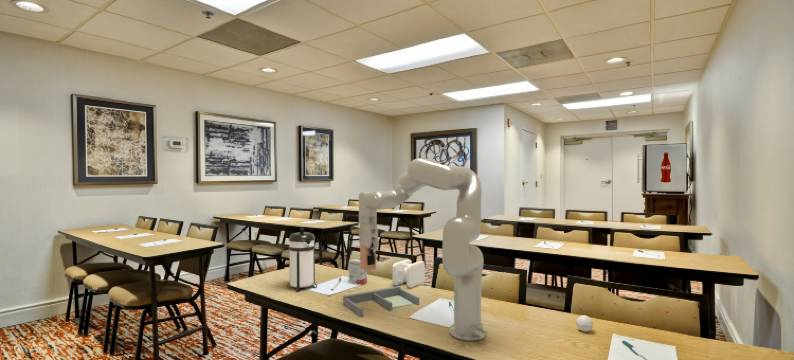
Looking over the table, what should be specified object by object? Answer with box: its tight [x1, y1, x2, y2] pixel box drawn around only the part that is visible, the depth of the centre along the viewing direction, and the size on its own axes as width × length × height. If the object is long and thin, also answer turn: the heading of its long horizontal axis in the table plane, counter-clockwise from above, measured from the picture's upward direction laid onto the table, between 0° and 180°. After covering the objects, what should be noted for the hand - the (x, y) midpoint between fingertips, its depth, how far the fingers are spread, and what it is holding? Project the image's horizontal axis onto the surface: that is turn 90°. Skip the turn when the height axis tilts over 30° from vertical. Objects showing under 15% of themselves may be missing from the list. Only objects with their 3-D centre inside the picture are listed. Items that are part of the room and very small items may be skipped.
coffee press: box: [287, 227, 318, 293], centre depth 194 cm, size 17×16×30 cm
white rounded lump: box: [575, 314, 594, 332], centre depth 139 cm, size 8×6×6 cm
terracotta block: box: [359, 244, 377, 272], centre depth 164 cm, size 5×5×10 cm
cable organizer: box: [391, 258, 426, 289], centre depth 198 cm, size 15×11×12 cm
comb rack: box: [342, 285, 420, 318], centre depth 169 cm, size 18×28×4 cm, turn 120°
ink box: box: [348, 258, 368, 286], centre depth 202 cm, size 9×5×12 cm, turn 58°
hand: (368, 262), depth 164 cm, fingers closed on terracotta block, 5 cm apart
